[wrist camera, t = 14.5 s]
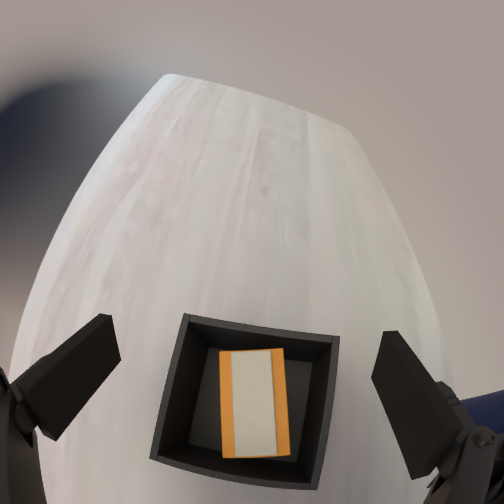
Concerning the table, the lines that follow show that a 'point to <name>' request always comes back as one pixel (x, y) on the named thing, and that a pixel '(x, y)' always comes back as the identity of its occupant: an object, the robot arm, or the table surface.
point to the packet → (253, 404)
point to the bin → (209, 409)
